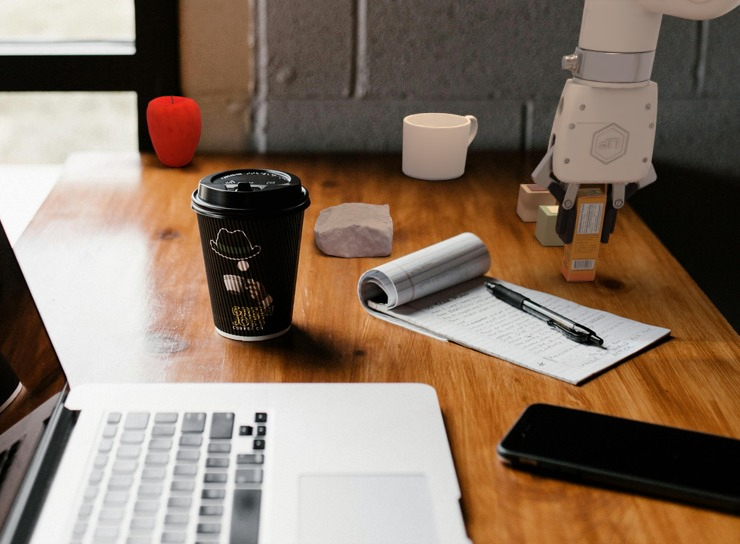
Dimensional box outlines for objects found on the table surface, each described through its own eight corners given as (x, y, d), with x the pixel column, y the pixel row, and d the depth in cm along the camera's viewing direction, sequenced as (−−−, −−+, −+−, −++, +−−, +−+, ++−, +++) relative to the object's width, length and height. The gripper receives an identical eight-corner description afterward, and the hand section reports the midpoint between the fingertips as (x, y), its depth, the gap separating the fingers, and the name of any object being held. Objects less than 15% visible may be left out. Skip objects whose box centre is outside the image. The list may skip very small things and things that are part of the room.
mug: (426, 184, 132) (431, 130, 128) (387, 169, 140) (389, 117, 136) (493, 172, 138) (499, 120, 134) (451, 158, 146) (456, 108, 142)
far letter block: (544, 212, 121) (549, 183, 118) (552, 221, 117) (557, 191, 115) (516, 212, 120) (520, 183, 118) (523, 221, 117) (527, 192, 115)
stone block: (319, 271, 107) (399, 255, 105) (312, 233, 104) (393, 217, 103) (318, 241, 117) (391, 227, 116) (311, 207, 115) (386, 192, 113)
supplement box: (557, 271, 101) (571, 186, 96) (587, 271, 101) (602, 187, 96) (564, 282, 99) (579, 195, 93) (594, 282, 99) (611, 196, 93)
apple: (214, 162, 144) (211, 95, 139) (177, 174, 138) (172, 103, 133) (176, 154, 149) (171, 88, 143) (139, 165, 143) (133, 97, 137)
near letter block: (564, 235, 112) (570, 204, 110) (574, 245, 109) (579, 214, 107) (534, 235, 112) (539, 204, 110) (542, 246, 109) (547, 214, 107)
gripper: (542, 74, 85) (518, 252, 94) (708, 72, 85) (667, 250, 95) (523, 62, 91) (502, 230, 101) (678, 60, 91) (642, 228, 101)
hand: (582, 238), depth 98 cm, fingers closed on supplement box, 3 cm apart
